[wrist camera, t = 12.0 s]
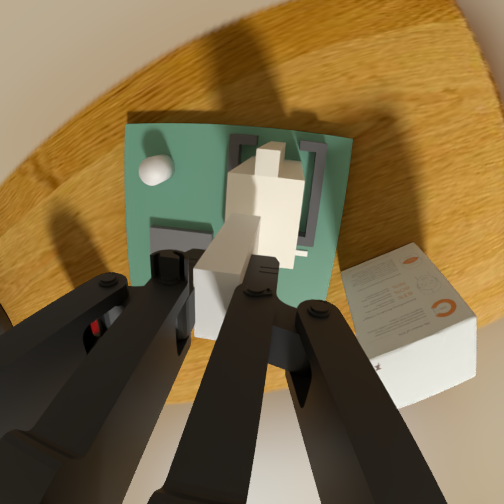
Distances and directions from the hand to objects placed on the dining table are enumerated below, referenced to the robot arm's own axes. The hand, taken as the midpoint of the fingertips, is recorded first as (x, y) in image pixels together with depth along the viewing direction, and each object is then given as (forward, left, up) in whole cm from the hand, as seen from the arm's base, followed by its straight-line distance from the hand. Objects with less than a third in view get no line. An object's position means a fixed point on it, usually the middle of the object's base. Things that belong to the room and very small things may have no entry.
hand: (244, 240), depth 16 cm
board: (-3, -3, -12) cm, 13 cm away
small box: (+13, -7, -13) cm, 19 cm away
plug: (+1, +1, -11) cm, 11 cm away
